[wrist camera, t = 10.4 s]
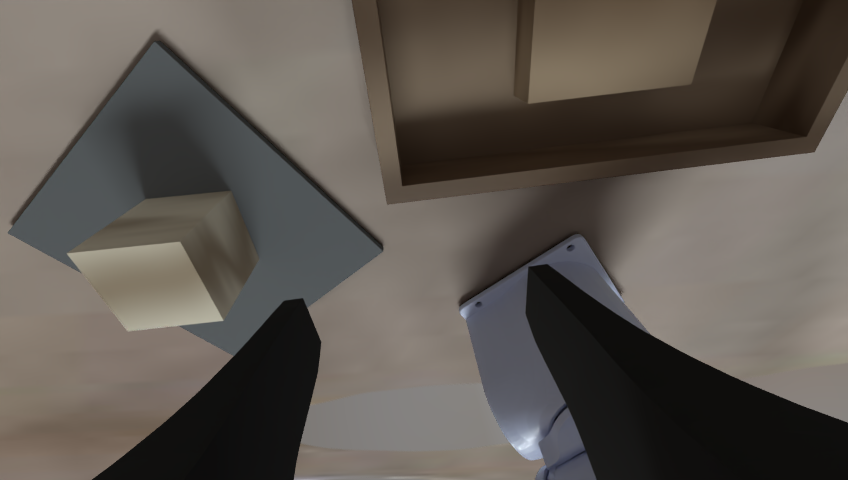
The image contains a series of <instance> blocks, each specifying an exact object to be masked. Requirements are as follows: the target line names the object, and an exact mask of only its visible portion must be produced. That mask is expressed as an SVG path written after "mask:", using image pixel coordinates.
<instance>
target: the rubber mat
mask: <svg viewBox="0 0 848 480" xmlns="http://www.w3.org/2000/svg"><path fill="white" fill-rule="evenodd" d="M223 191H232V194H233V196H234V199H235V201H236V203H237V206H238V208H239V211H240V213H241V216H242V218H243V220H244V223H245V225H246V228H247V230H248V232H249V235H250V237H251V240H252V242H253V245H254V247H255V249H256V252H257V254H258V257H259V261H258V262H257V264H256V266H255V268H254V269H253V271H252V273H251V274H250V276H249V278H248V280H247V281H246V283H245V285H244V287H243V288H242V290H241V292H240V293H239V295H238V297H237V299H236V300H235V302H234V304H233V306H232V307H231V309H230V311H229V312H228V314H227V316H226V318H225V319H224V321H217V322H208V323H199V324H190V325H181V326H180V327H182V328H183V329H185V330H187V331H189V332H191V333H193V334H194V335H196V336H198V337H200V338H202V339H204V340H206V341H207V342H209V343H211V344H213V345H215V346H217V347H218V348H220V349H222V350H224V351H226V352H228V353H229V354H231V355H233V356H235V354H236V353H237V352H238V351H239V350H240V349H241V348H242V347H243V346H244V345H245V343H246V342H247V341H248V340H249V339H250V338H251V337H252V336H253V335H254V334H255V332H256V331H257V330H258V329H259V328H260V327H261V326H262V325H263V323H264V322H265V321H266V320H267V319H268V318H269V317H270V315H271V314H272V313H273V312H274V311H275V310H276V309H277V308H278V307H279V305H280V304H281V303H282V302H283V301H285V300H292V299H300V298H303V299H304V302H305V304H306V306H307V307H309V306H310V305H311V304H313V303H314V302H315V301H317V300H318V299H319V298H321V297H322V296H323V295H325V294H326V293H327V292H329V291H330V290H332V289H333V288H334V287H336V286H337V285H338V284H340V283H341V282H342V281H344V280H345V279H346V278H348V277H349V276H350V275H352V274H353V273H355V272H356V271H357V270H359V269H360V268H361V267H363V266H364V265H365V264H367V263H368V262H369V261H371V260H372V259H373V258H375V257H376V256H378V255H379V254H380V253H382V252H383V247H382V246H381V245H380V244H379V243H378V242H377V241H376V240H375V239H373V238H372V237H371V236H370V235H369V234H368V233H367V232H366V231H365V230H364V229H363V228H362V227H360V226H359V225H358V224H357V223H356V222H355V221H354V220H353V219H352V218H351V217H350V216H349V215H347V214H346V213H345V212H344V211H343V210H342V209H341V208H340V207H339V206H338V205H337V204H336V203H335V202H333V201H332V200H331V199H330V198H329V197H328V196H327V195H326V194H325V193H324V192H323V191H322V190H320V189H319V188H318V187H317V186H316V185H315V184H314V183H313V182H312V181H311V180H310V179H309V178H308V177H306V176H305V175H304V174H303V173H302V172H301V171H300V170H299V169H298V168H297V167H296V166H295V165H293V164H292V163H291V162H290V161H289V160H288V159H287V158H286V157H285V156H284V155H283V154H282V153H281V152H279V151H278V150H277V149H276V148H275V147H274V146H273V145H272V144H271V143H270V142H269V141H268V140H266V139H265V138H264V137H263V136H262V135H261V134H260V133H259V132H258V131H257V130H256V129H255V128H253V127H252V126H251V125H250V124H249V123H248V122H247V121H246V120H245V119H244V118H243V117H242V116H241V115H239V114H238V113H237V112H236V111H235V110H234V109H233V108H232V107H231V106H230V105H229V104H228V103H226V102H225V101H224V100H223V99H222V98H221V97H220V96H219V95H218V94H217V93H216V92H215V91H214V90H212V89H211V88H210V87H209V86H208V85H207V84H206V83H205V82H204V81H203V80H202V79H201V78H199V77H198V76H197V75H196V74H195V73H194V72H193V71H192V70H191V69H190V68H189V67H188V66H186V65H185V64H184V63H183V62H182V61H181V60H180V59H179V58H178V57H177V56H176V55H175V54H174V53H172V52H171V51H170V50H169V49H168V48H167V47H166V46H165V45H164V44H163V43H162V42H161V41H154V43H153V44H152V45H151V47H150V48H149V49H148V51H147V52H146V53H145V54H144V56H143V57H142V58H141V60H140V61H139V62H138V64H137V65H136V66H135V68H134V69H133V70H132V71H131V73H130V74H129V75H128V77H127V78H126V79H125V81H124V82H123V83H122V84H121V86H120V87H119V88H118V90H117V91H116V92H115V94H114V95H113V96H112V97H111V99H110V100H109V101H108V103H107V104H106V105H105V107H104V108H103V109H102V111H101V112H100V113H99V114H98V116H97V117H96V118H95V120H94V121H93V122H92V124H91V125H90V126H89V127H88V129H87V130H86V131H85V133H84V134H83V135H82V137H81V138H80V139H79V140H78V142H77V143H76V144H75V146H74V147H73V148H72V150H71V151H70V152H69V154H68V155H67V156H66V157H65V159H64V160H63V161H62V163H61V164H60V165H59V167H58V168H57V169H56V170H55V172H54V173H53V174H52V176H51V177H50V178H49V180H48V181H47V182H46V183H45V185H44V186H43V187H42V189H41V190H40V191H39V193H38V194H37V195H36V197H35V198H34V199H33V200H32V202H31V203H30V204H29V206H28V207H27V208H26V210H25V211H24V212H23V213H22V215H21V216H20V217H19V219H18V220H17V221H16V223H15V224H14V225H13V226H12V228H11V229H10V230H9V232H8V234H10V235H12V236H14V237H16V238H18V239H19V240H21V241H23V242H25V243H27V244H29V245H31V246H32V247H34V248H36V249H38V250H40V251H42V252H43V253H45V254H47V255H49V256H51V257H53V258H54V259H56V260H58V261H60V262H62V263H64V264H66V265H67V266H69V267H71V268H73V269H75V270H77V271H78V272H80V273H81V271H80V270H79V269H78V267H77V266H76V265H75V264H74V262H73V261H72V260H71V259H70V257H69V256H68V255H67V253H68V252H69V251H71V250H72V249H74V248H75V247H77V246H78V245H80V244H81V243H82V242H84V241H85V240H87V239H88V238H90V237H91V236H93V235H94V234H96V233H97V232H98V231H100V230H101V229H103V228H104V227H106V226H107V225H109V224H110V223H112V222H113V221H114V220H116V219H117V218H119V217H120V216H122V215H123V214H125V213H126V212H128V211H129V210H130V209H132V208H133V207H135V206H136V205H138V204H139V203H141V202H142V201H144V200H145V199H152V198H162V197H172V196H182V195H192V194H202V193H213V192H223Z"/></svg>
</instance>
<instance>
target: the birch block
mask: <svg viewBox="0 0 848 480" xmlns="http://www.w3.org/2000/svg"><path fill="white" fill-rule="evenodd" d="M67 255H68V256H69V257H70V259H71V260H72V261H73V262H74V264H75V265H76V266H77V267H78V269H79V270H80V271H81V273H82V274H83V275H84V276H85V278H86V279H87V280H88V281H89V283H90V284H91V285H92V287H93V288H94V289H95V290H96V292H97V293H98V294H99V295H100V297H101V298H102V299H103V301H104V302H105V303H106V304H107V306H108V307H109V308H110V310H111V311H112V312H113V313H114V315H115V316H116V317H117V318H118V320H119V321H120V322H121V324H122V325H123V326H124V327H125V329H126V330H127V331H135V330H144V329H154V328H163V327H172V326H181V325H190V324H199V323H208V322H217V321H224V319H225V318H226V316H227V314H228V312H229V311H230V309H231V307H232V306H233V304H234V302H235V300H236V299H237V297H238V295H239V293H240V292H241V290H242V288H243V287H244V285H245V283H246V281H247V280H248V278H249V276H250V274H251V273H252V271H253V269H254V268H255V266H256V264H257V262H258V261H259V257H258V254H257V252H256V249H255V247H254V245H253V242H252V240H251V237H250V235H249V232H248V230H247V228H246V225H245V223H244V220H243V218H242V216H241V213H240V211H239V208H238V206H237V203H236V201H235V199H234V196H233V194H232V191H223V192H213V193H202V194H192V195H182V196H172V197H162V198H152V199H145V200H144V201H142V202H141V203H139V204H138V205H136V206H135V207H133V208H132V209H130V210H129V211H128V212H126V213H125V214H123V215H122V216H120V217H119V218H117V219H116V220H114V221H113V222H112V223H110V224H109V225H107V226H106V227H104V228H103V229H101V230H100V231H98V232H97V233H96V234H94V235H93V236H91V237H90V238H88V239H87V240H85V241H84V242H82V243H81V244H80V245H78V246H77V247H75V248H74V249H72V250H71V251H69V252H68V253H67Z"/></svg>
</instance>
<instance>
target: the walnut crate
mask: <svg viewBox="0 0 848 480" xmlns="http://www.w3.org/2000/svg"><path fill="white" fill-rule="evenodd" d="M352 4H353V10H354V16H355V22H356V28H357V33H358V39H359V45H360V51H361V56H362V62H363V68H364V74H365V80H366V85H367V91H368V97H369V103H370V109H371V114H372V120H373V126H374V132H375V138H376V143H377V149H378V155H379V161H380V166H381V172H382V178H383V184H384V190H385V195H386V201H387V205H388V204H396V203H405V202H413V201H421V200H429V199H437V198H445V197H453V196H461V195H470V194H478V193H486V192H494V191H502V190H510V189H518V188H527V187H535V186H543V185H551V184H559V183H567V182H575V181H584V180H592V179H600V178H608V177H616V176H624V175H632V174H641V173H649V172H657V171H665V170H673V169H681V168H689V167H698V166H706V165H714V164H722V163H730V162H738V161H746V160H754V159H763V158H771V157H779V156H787V155H795V154H803V153H811V152H815V150H816V148H817V147H818V145H819V143H820V141H821V139H822V137H823V135H824V134H825V132H826V130H827V128H828V126H829V124H830V122H831V121H832V119H833V117H834V115H835V113H836V111H837V109H838V108H839V106H840V104H841V102H842V100H843V98H844V96H845V95H846V93H847V91H848V0H352Z"/></svg>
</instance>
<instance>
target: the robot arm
mask: <svg viewBox="0 0 848 480" xmlns="http://www.w3.org/2000/svg"><path fill="white" fill-rule="evenodd" d="M569 245H572V246H571V247H569V248H567V247H568V246H569ZM477 302H480V303H478V304H476V303H477ZM459 312H460V314H461V316H462V317H464V318H465V319H466V322H467V326H468V330H469V334H470V337H471V341H472V345H473V349H474V353H475V357H476V361H477V365H478V369H479V373H480V377H481V381H482V385H483V388H484V392H485V395H486V398H487V400H488V403H489V405H490V408H491V410H492V412H493V415H494V417H495V419H496V421H497V423H498V425H499V427H500V428H501V430H502V432H503V433H504V435H505V436H506V438H507V439H508V441H509V442H510V443H511V445H512V446H513V447H514V448H515V449H516V451H517V452H518V453H519V454H521V455H522V456H523V457H524V458H526V459H528V460H537V459H541V458H543V459H544V462H545V464H546V465H544V466H543V467H542V468H541V469H540V470H539V471H538V473H537V475H536V478H535V480H848V423H847V422H844V421H842V420H839V419H836V418H834V417H831V416H828V415H825V414H822V413H820V412H817V411H815V410H812V409H809V408H806V407H804V406H801V405H798V404H796V403H794V402H791V401H789V400H786V399H784V398H781V397H779V396H777V395H774V394H772V393H769V392H767V391H765V390H762V389H760V388H757V387H755V386H753V385H750V384H748V383H746V382H743V381H741V380H739V379H737V378H735V377H732V376H730V375H728V374H726V373H724V372H722V371H720V370H717V369H715V368H713V367H711V366H709V365H707V364H705V363H703V362H701V361H699V360H697V359H695V358H693V357H691V356H689V355H687V354H685V353H683V352H681V351H679V350H677V349H675V348H673V347H672V346H670V345H668V344H666V343H664V342H663V341H661V340H659V339H657V338H655V337H653V336H652V335H651V334H650V333H649V332H648V331H647V330H646V329H645V327H644V326H643V325H642V324H641V323H640V322H639V320H638V319H637V318H636V317H635V316H634V314H633V313H632V312H631V311H630V310H629V309H628V307H627V306H626V305H625V304H624V300H623V299H622V297H621V295H620V294H619V292H618V291H617V289H616V288H615V286H614V284H613V283H612V281H611V280H610V278H609V276H608V275H607V273H606V272H605V270H604V268H603V267H602V265H601V264H600V262H599V260H598V259H597V257H596V256H595V254H594V253H593V251H592V249H591V248H590V246H589V245H588V243H587V241H586V240H585V238H584V237H583V236H582V235H580V234H575V235H573V236H571V237H569V238H568V239H566V240H564V241H563V242H561V243H560V244H558V245H556V246H555V247H553V248H552V249H550V250H548V251H547V252H545V253H544V254H542V255H540V256H539V257H537V258H536V259H534V260H532V261H531V262H529V263H528V264H526V265H524V266H523V267H521V268H520V269H518V270H516V271H515V272H513V273H512V274H510V275H508V276H507V277H505V278H504V279H502V280H500V281H499V282H497V283H496V284H494V285H492V286H491V287H489V288H488V289H486V290H484V291H483V292H481V293H480V294H478V295H476V296H475V297H473V298H472V299H470V300H468V301H467V302H465V303H464V304H462V305H461V306H460V307H459ZM320 349H321V340H320V338H319V336H318V333H317V331H316V328H315V326H314V323H313V321H312V319H311V316H310V314H309V311H308V309H307V306H306V304H305V302H304V299H303V298H300V299H292V300H285V301H283V302H282V303H281V304H280V305H279V307H278V308H277V309H276V310H275V311H274V312H273V313H272V314H271V315H270V317H269V318H268V319H267V320H266V321H265V322H264V323H263V325H262V326H261V327H260V328H259V329H258V330H257V331H256V332H255V334H254V335H253V336H252V337H251V338H250V339H249V340H248V341H247V342H246V343H245V345H244V346H243V347H242V348H241V349H240V350H239V351H238V352H237V353H236V354H235V356H234V357H233V358H232V359H231V360H230V361H229V362H228V363H227V364H226V365H225V366H224V367H223V368H222V369H221V370H220V371H219V372H218V373H217V374H216V375H215V376H214V377H213V378H212V379H211V380H210V381H209V382H208V383H207V384H206V385H205V386H204V387H203V388H202V389H201V390H200V391H199V392H198V393H197V394H196V395H195V396H194V397H192V398H191V399H190V400H189V401H188V402H187V403H186V404H185V405H184V406H183V407H181V408H180V409H179V410H178V411H177V412H176V413H175V414H174V415H172V416H171V417H170V418H169V419H168V420H167V421H166V422H164V423H163V424H162V425H161V426H160V427H158V428H157V429H156V430H155V431H154V432H152V433H151V434H150V435H149V436H147V437H146V438H145V439H144V440H142V441H141V442H140V443H139V444H137V445H136V446H135V447H134V448H133V449H131V450H130V451H129V452H128V453H126V454H125V455H124V456H123V457H121V458H120V459H119V460H118V461H116V462H115V463H114V464H112V465H111V466H110V467H108V468H107V469H106V470H104V471H103V472H102V473H100V474H99V475H98V476H96V477H95V478H94V479H92V480H294V474H295V467H296V461H297V456H298V451H299V447H300V442H301V438H302V434H303V430H304V426H305V422H306V418H307V414H308V410H309V406H310V402H311V398H312V394H313V390H314V386H315V382H316V378H317V373H318V366H319V359H320Z"/></svg>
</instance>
